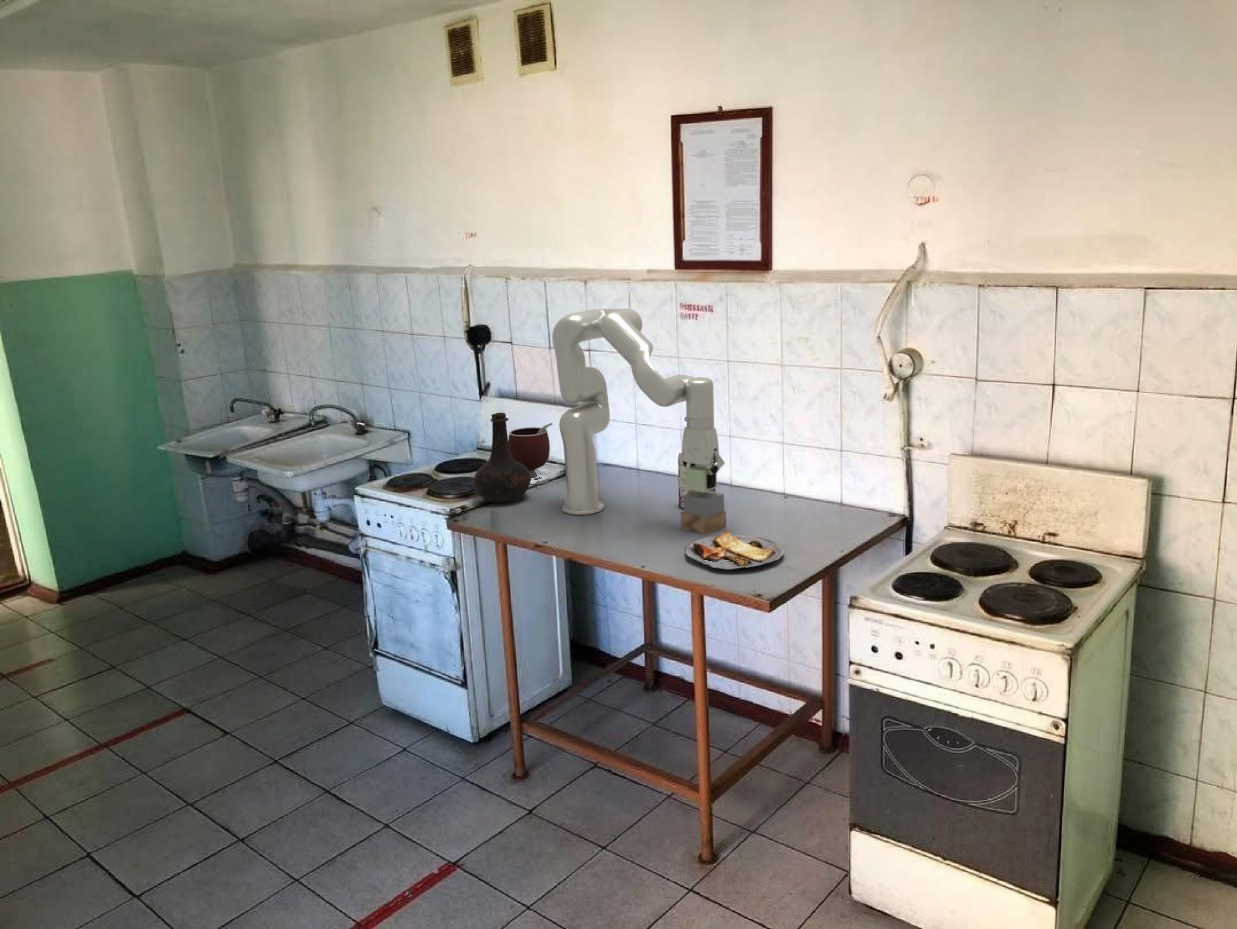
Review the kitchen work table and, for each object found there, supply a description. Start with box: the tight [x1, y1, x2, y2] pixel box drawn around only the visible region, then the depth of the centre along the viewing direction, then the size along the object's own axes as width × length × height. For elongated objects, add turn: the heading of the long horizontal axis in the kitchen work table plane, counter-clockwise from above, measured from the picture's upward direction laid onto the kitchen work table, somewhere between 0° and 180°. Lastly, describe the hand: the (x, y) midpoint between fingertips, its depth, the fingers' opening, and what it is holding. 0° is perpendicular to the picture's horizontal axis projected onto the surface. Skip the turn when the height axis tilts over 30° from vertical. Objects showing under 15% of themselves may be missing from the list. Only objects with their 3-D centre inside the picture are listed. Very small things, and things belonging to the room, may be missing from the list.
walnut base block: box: [680, 509, 727, 536], centre depth 282 cm, size 9×9×5 cm
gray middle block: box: [683, 491, 725, 518], centre depth 281 cm, size 8×8×5 cm
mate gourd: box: [508, 422, 554, 485], centre depth 338 cm, size 16×14×20 cm
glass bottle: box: [473, 412, 531, 504], centre depth 317 cm, size 18×18×28 cm
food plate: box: [684, 530, 784, 570], centre depth 259 cm, size 25×23×4 cm
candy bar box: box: [677, 452, 717, 509], centre depth 301 cm, size 11×5×16 cm, turn 84°
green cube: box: [686, 464, 718, 492], centre depth 279 cm, size 6×6×6 cm
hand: (701, 485), depth 280 cm, fingers closed on green cube, 6 cm apart
